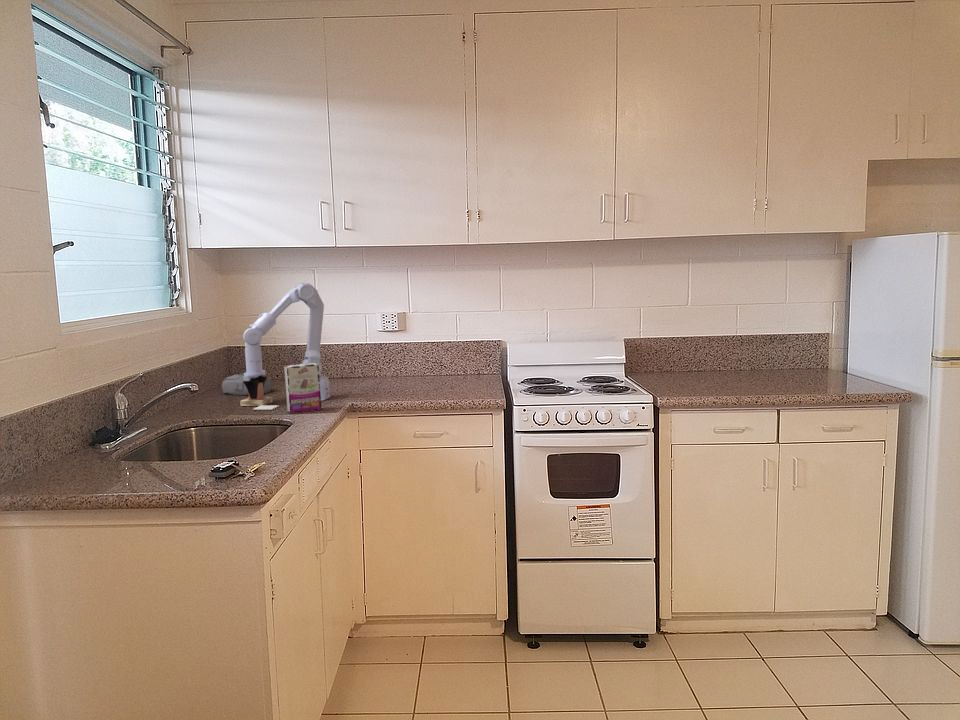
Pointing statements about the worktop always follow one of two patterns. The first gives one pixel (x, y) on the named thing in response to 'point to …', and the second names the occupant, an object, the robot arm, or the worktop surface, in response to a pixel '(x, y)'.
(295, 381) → the candy bar box
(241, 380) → the grey rounded bag
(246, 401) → the pocket holder
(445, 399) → the worktop surface
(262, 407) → the mat
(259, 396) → the peg
